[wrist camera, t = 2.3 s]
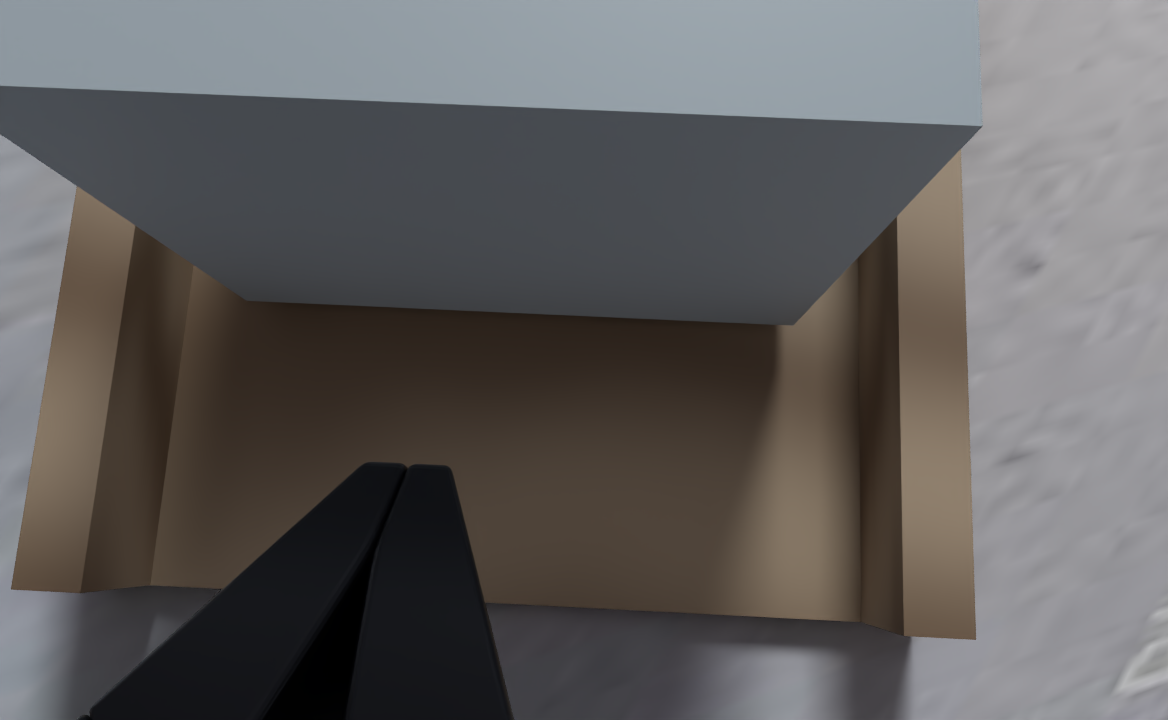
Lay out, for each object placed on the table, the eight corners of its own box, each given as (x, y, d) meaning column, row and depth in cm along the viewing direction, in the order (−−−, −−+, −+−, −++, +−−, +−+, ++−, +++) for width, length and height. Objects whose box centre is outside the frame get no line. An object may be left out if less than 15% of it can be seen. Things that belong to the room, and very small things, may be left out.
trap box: (914, 623, 18) (1032, 655, 13) (103, 581, 19) (-74, 597, 14) (896, -345, 23) (979, -590, 18) (241, -366, 23) (144, -611, 18)
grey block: (793, 325, 18) (982, 126, 9) (246, 301, 18) (-75, 83, 10) (794, 93, 19) (967, -288, 10) (274, 72, 19) (5, -319, 10)
